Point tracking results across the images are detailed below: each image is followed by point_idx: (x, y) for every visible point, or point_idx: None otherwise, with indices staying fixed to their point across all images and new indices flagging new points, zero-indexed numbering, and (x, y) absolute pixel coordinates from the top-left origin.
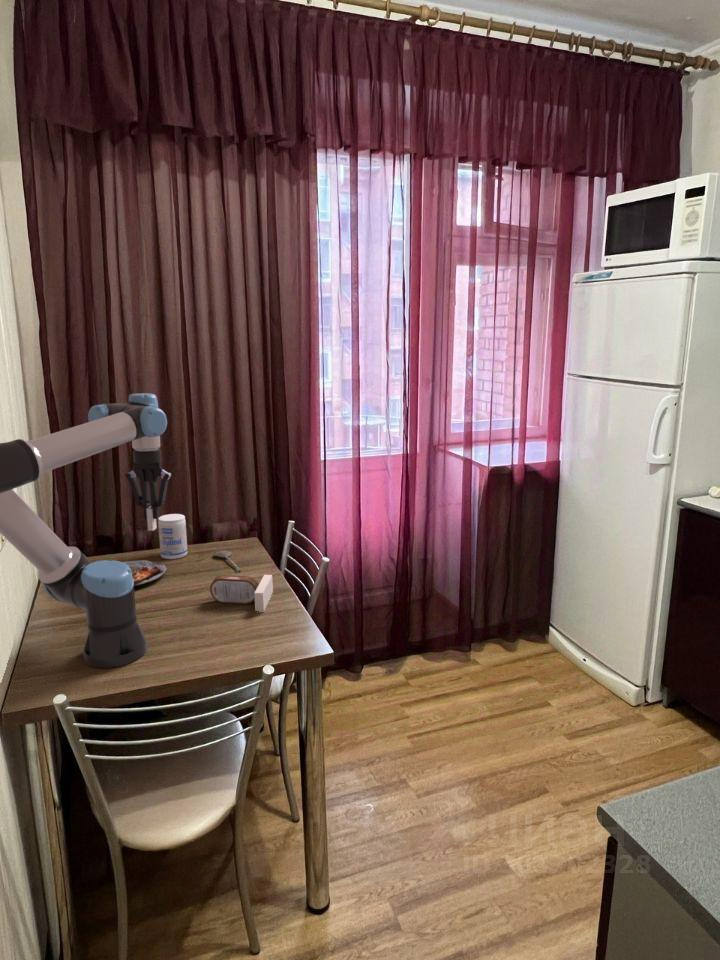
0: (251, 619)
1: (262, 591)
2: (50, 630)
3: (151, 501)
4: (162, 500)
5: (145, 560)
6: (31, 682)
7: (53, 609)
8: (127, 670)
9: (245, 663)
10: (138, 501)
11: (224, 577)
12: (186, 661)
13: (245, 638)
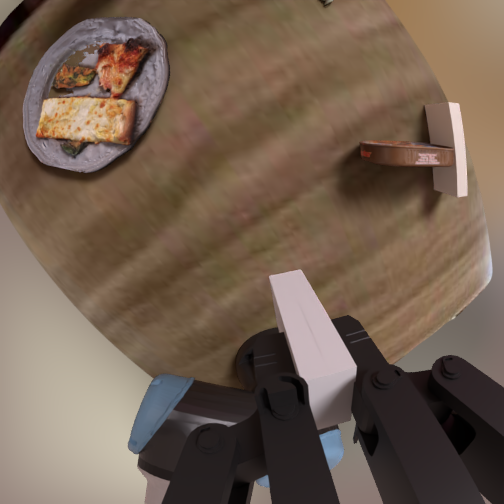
0: (433, 216)
1: (465, 188)
2: (127, 329)
3: (374, 467)
4: (467, 426)
5: (85, 21)
6: None
7: (67, 265)
8: None
9: (435, 324)
10: (239, 496)
11: (412, 158)
12: (378, 345)
13: (433, 274)
